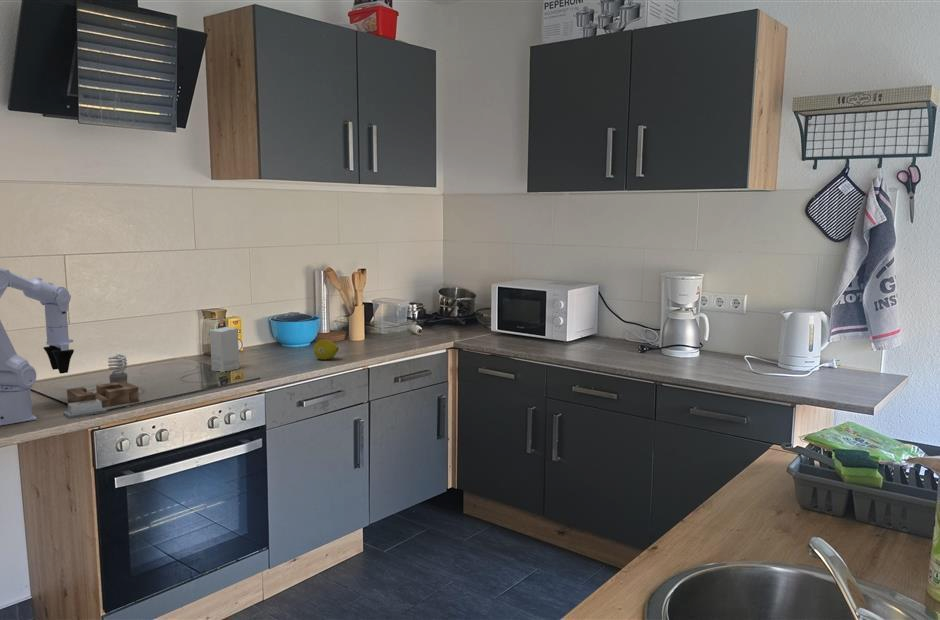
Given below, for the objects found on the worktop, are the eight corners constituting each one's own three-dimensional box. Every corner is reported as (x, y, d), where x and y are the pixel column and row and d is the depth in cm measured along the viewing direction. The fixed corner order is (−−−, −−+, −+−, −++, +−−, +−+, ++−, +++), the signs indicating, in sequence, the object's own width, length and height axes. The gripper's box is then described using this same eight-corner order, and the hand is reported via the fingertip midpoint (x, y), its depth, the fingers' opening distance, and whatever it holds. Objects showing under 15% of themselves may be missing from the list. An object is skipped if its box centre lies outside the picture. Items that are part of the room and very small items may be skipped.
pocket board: (79, 411, 219) (78, 396, 219) (67, 403, 228) (66, 389, 227) (138, 401, 231) (138, 387, 230) (125, 394, 239) (124, 381, 239)
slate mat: (69, 418, 211) (69, 415, 211) (63, 414, 215) (63, 411, 215) (106, 412, 218) (106, 409, 218) (100, 408, 222) (100, 405, 222)
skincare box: (228, 367, 282) (226, 326, 281) (240, 369, 279) (239, 327, 277) (210, 371, 275) (208, 329, 273) (222, 373, 272) (221, 330, 270)
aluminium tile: (71, 414, 212) (71, 406, 212) (68, 411, 215) (67, 403, 215) (102, 409, 218) (101, 401, 217) (98, 407, 221) (97, 399, 220)
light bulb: (118, 392, 242) (116, 356, 240) (105, 391, 244) (103, 355, 242) (132, 389, 247) (130, 353, 245) (119, 387, 249) (117, 352, 247)
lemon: (308, 359, 297) (308, 340, 296) (322, 356, 303) (322, 337, 302) (328, 362, 291) (328, 342, 290) (342, 359, 297) (342, 339, 296)
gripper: (78, 327, 221) (81, 372, 223) (64, 322, 231) (67, 365, 233) (52, 330, 216) (55, 376, 218) (39, 324, 227) (42, 368, 228)
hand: (60, 371), depth 225 cm, fingers open, 7 cm apart
